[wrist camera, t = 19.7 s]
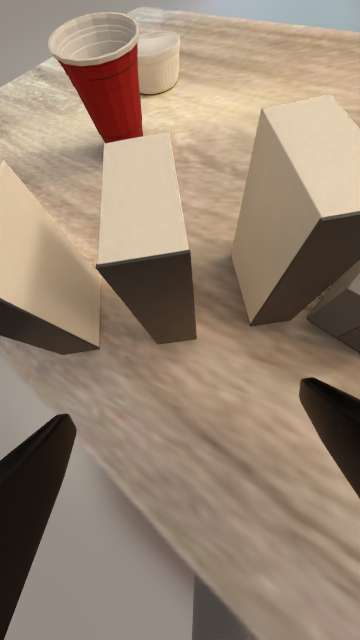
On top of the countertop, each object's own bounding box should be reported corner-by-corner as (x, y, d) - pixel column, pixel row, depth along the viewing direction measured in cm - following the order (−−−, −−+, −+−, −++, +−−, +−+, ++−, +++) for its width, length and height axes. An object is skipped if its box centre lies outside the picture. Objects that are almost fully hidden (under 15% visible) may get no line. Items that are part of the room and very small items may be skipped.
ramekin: (169, 65, 44) (165, 23, 39) (192, 84, 40) (190, 40, 35) (122, 83, 43) (112, 42, 38) (141, 104, 39) (132, 62, 34)
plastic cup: (114, 181, 31) (66, 60, 20) (87, 150, 35) (33, 34, 24) (171, 150, 32) (156, 21, 21) (139, 124, 36) (112, 3, 25)
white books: (290, 320, 20) (425, 203, 8) (62, 354, 21) (-121, 297, 9) (264, 249, 23) (331, 93, 11) (69, 282, 25) (-57, 171, 13)
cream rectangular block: (196, 339, 20) (190, 253, 8) (157, 344, 20) (95, 268, 8) (185, 266, 24) (169, 130, 12) (152, 271, 24) (102, 143, 12)
